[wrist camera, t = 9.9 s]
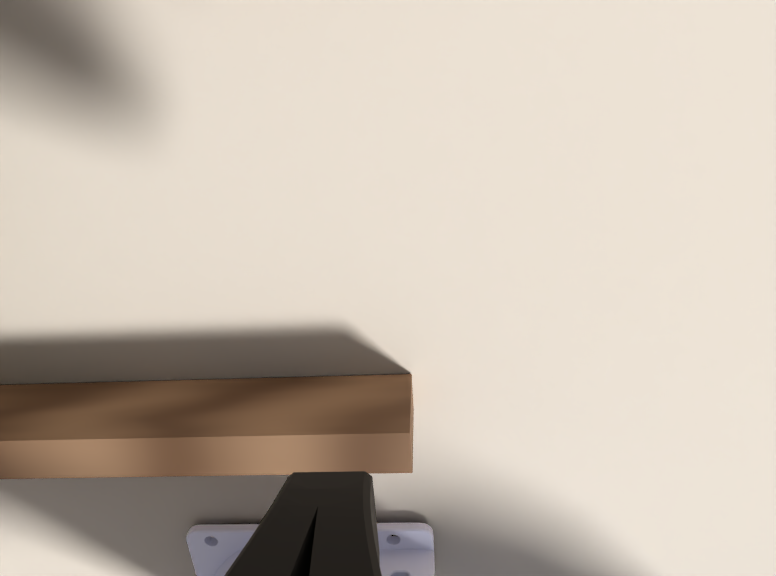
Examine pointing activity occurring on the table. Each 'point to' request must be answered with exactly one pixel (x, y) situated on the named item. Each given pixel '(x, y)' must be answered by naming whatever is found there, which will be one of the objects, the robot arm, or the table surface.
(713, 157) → the table surface
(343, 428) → the bay
